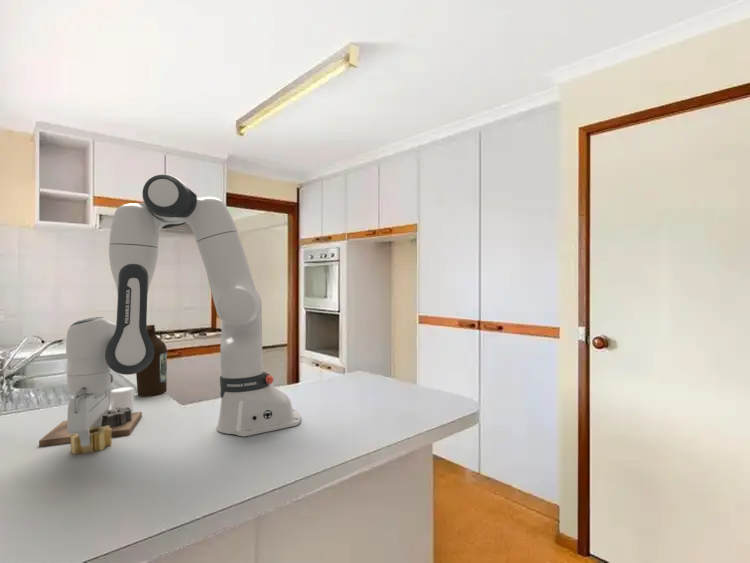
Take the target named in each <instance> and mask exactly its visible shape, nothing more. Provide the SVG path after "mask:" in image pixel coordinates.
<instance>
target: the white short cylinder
mask: <svg viewBox="0 0 750 563" xmlns="http://www.w3.org/2000/svg"><path fill="white" fill-rule="evenodd" d="M134 401H135V387H134V386H123V387H117V388H112V389H111V398H110V406H111V410H112V409H115V408H119V407H120V408H126V407H128V408H130V409H131V412H133V410H134Z"/></svg>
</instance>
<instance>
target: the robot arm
mask: <svg viewBox="0 0 750 563" xmlns="http://www.w3.org/2000/svg"><path fill="white" fill-rule="evenodd" d="M142 200H143V202H140V203H136V202H135V203H134V202H133V203H131V202H130V203H125V204H122V205H120V206H118V207H117V208H116V210H115V212H114V215H113V217H112V223H111V227H110V233H109V246H108V257H109V258H108V259H109V266H110V270H111V274H112V277H113V279H114V283H115V287H116V293H117V304H116V305H117V306H116V307H117V309H116V323H115V322H113V321H110V320H109V319H107V318H105V317H103V316H96V317H89V318H84V319H81V320H77V321H75V322H74V323H71V325H70V326H69V327H68V329H67V332H66V338H65V339H66V340H65V341H66V342H65V345H66V346H65V355H66V356H65V357H66V360H67V363H68V368H67V371H66V379H67V380H66V384H67V387H66V388H67V390H66V392H67V395H69V396H73V397H72V399H70V400H69V402H68V405H67V406H68V407H67V419H66V421H67V429H68V432H69V434H77V433H78V436H79V438H80V443H81V446H82V447H84V446H88V445H89V444H90V443H91V436H90V433H89V431H90V427H91V426H92V427H101V423H102V415H103V414H104V413H105V412H106V411H107V410H110V409H109V408H110V406H111V399H110V398H111V390H112V385H111V384H113V382H114V375H113V373H111V370H112V371H113V372H115V373H117V374H120V375H124V376H125V375H127V376H128V375H136V373H138V372H141V371H143V370H144V369H145V368H147V367H148V366H149V365H150V363H151V362H152V360H153V357H154V346H153V343H152V341H151V339H150V337H149V335H148V332H147V325H148V324H147V320H148V319H147V317H148V316H147V315H148V297H149V296H148V293H149V289H150V285H151V283H152V280H153V277H154V275H155V272H156V266H157V262H158V256H159V236H160V231H161V230H163V229H168V228H174V227H179V226H183V225H185V224H188V225H189V227H190V229H191V230H192V233H193V236H194V239H195V241H196V244H197V248H198V251H199V253H200V254H199V255H200V257H201V259H202V262H203V266H204V269H205V271H206V275H207V276H206V277H207V280H208V284H209V288H210V289H209V290H210V293H211V296H212V300H213V304H214V306H215V310H216V313H217V316H218V318H219V319H220V320H221V336H220V337H221V338H220V346H219V348H220V349H219V350H220V372H221V373H220V377H219V381H218V382H219V395H220V398H221V399H220V408H219V417H218V420H217V425H216V430H217V431H218V432H219V433H223V434H227V435H237V436H239V437H247V436H248V437H249V436H254V435H258V434H262V433H269V432H272V431H276V430H282V429H288V428H290V427H292V428H293V427H296V426H298V425H299V424H300V423H301V420H302V419H301V418H302V417H301V414H300V413H299V411H297V410H296V409H293V406H292V402H291V398H289V396H288V395H287V394H286V393H284V392H283V391H281V390H280V389H278V388H276V387H275V386H274V385H272V383H273V382H274V377H273V376H272V375H271V374H270V373H268V372H266V371H264V362H263V312H262V311H263V310H262V308H263V307H262V306H263V305H262V297H261V295H260V293H259V292H258V291H257V289H256V287H255V283H254V280H253V277H252V273H251V270H250V267H249V262H248V259H247V256H246V254H245V250H244V247H243V244H242V242H241V238H240V235H239V232H238V229H237V226H236V224H235V222H234V220H233V217H232V214H231V212H230V211H229V209H228V207H227V206H226V204H225V202H224V201H223V200H221V199H220V198H218V197H215V196H214V197H213V196H204V197H198V196H197V194H196V192H194V191H193V190H192V189H191V188H190V187H189V186H188V185H187V184H185V182H184V181H182V180H181V179H179V178H177V177H175V175H174V176H173V175H170V174H163V173H162V174H157V175H153V176H151V177H150V178H149V179H148V180H147V181H145V184H144V185H143V188H142Z"/></svg>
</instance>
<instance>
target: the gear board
mask: <svg viewBox="0 0 750 563" xmlns="http://www.w3.org/2000/svg"><path fill="white" fill-rule="evenodd" d="M142 417H143V412H142V411H136V412H132V411H131V409H130V408H128V407H126V408H120V407H119V408H115V409H112V408H111V409H108V410H107V411H106V412H105V413H104V414H103V415H102V423H101V427H104V426H107V425H108V426H110V428H112V438H115V437H123V436H130V435H131V433H132V432H133V431H134V429H135V428H136V426H137V425H138V424H139V422H140V420H141V419H142ZM90 428H92V426H91V427H90ZM70 435H71V434H69V432H68V429H67V420H62V421H61V422H60V423H59V424H58V425H56V426H55V427H54V428H53V429H52V430H50V431H49V432H48V433H47V434H45V435H44V436H43V437H42V438H41V439H39V440H38V447H39V448H40V447H48V446H55V445H62V444H71V437H70Z"/></svg>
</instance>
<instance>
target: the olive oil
mask: <svg viewBox="0 0 750 563" xmlns="http://www.w3.org/2000/svg"><path fill="white" fill-rule="evenodd" d="M155 327H156V325H155V324H147V332H148V335H149V337H150V339H151V341H152V343H153V346H154V357H153V360H152V362H151V363H150V365H149V366H148V367H147V368H145V369H144V370H143V371H141V372H138V373H136V374H135V376H136V387H137V388H136V389H137V396H139V397H155V396H160V395H162V394H165V393H166V392H167V390H168V388H167V383H168V382H167V374H168V372H167V370H168V369H167V368H168V362H167V361H168V348H167V345H166V344H165V342H164V341H163V340H162V339H160V338H159V337H158V336H157V335H156V328H155Z"/></svg>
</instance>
